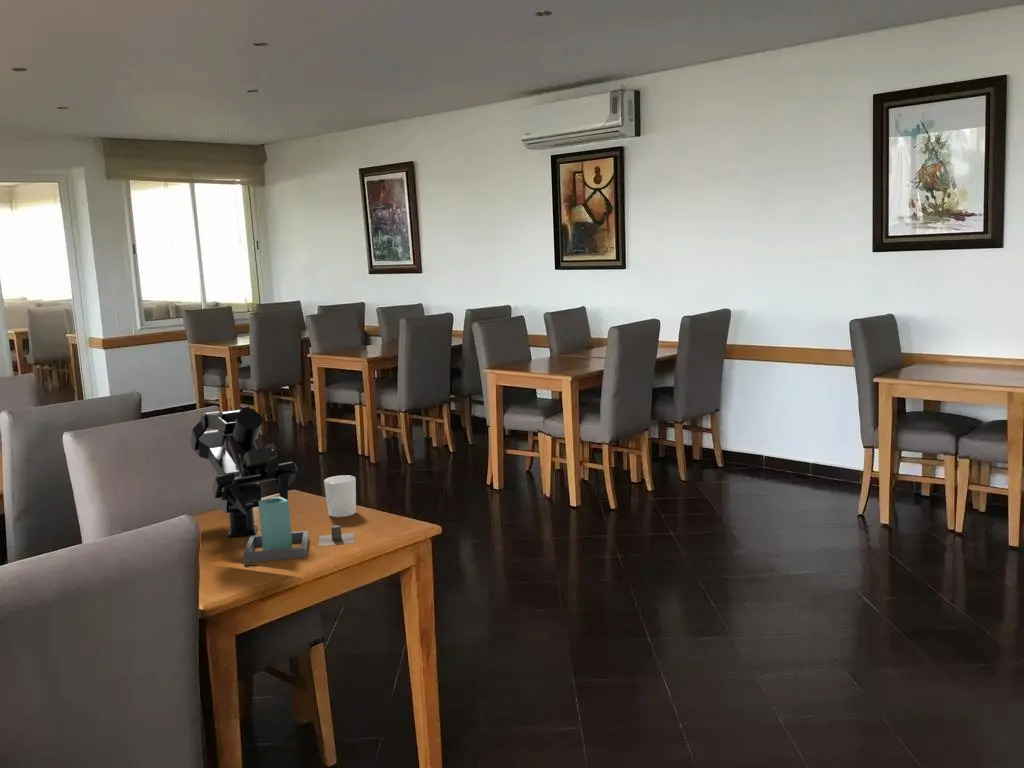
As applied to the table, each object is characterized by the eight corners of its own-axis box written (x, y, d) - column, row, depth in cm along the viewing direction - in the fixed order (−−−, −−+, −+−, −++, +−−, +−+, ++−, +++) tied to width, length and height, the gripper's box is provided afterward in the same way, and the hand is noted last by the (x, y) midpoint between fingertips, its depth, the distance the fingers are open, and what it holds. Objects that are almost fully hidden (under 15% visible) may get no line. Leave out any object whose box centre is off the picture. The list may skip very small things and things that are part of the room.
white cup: (320, 520, 220) (317, 482, 218) (337, 511, 227) (334, 474, 225) (347, 522, 217) (344, 483, 215) (363, 513, 224) (361, 476, 223)
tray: (251, 548, 199) (250, 535, 199) (309, 542, 201) (308, 530, 201) (244, 567, 187) (243, 553, 186) (306, 561, 189) (305, 547, 188)
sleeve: (262, 552, 194) (258, 500, 193) (283, 547, 197) (279, 496, 196) (271, 557, 190) (267, 505, 189) (292, 552, 193) (288, 500, 192)
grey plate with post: (320, 539, 203) (318, 523, 203) (354, 536, 205) (353, 520, 204) (318, 550, 196) (317, 533, 195) (354, 547, 197) (353, 530, 196)
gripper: (211, 441, 192) (232, 499, 185) (291, 427, 203) (314, 482, 195) (204, 469, 199) (224, 526, 192) (281, 455, 210) (303, 508, 203)
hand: (267, 510), depth 195 cm, fingers open, 9 cm apart
